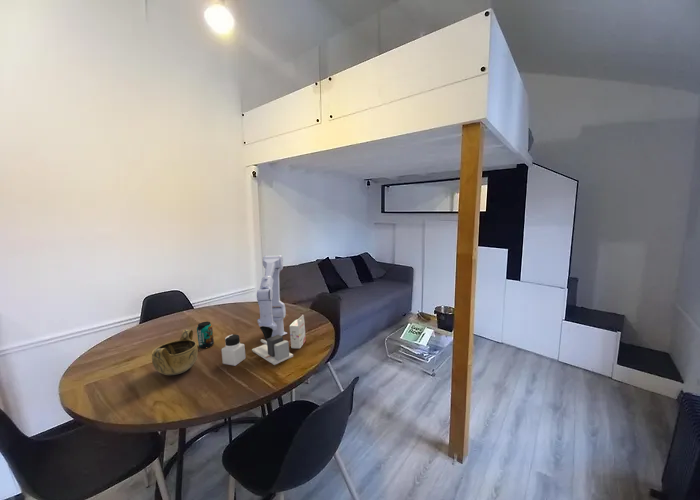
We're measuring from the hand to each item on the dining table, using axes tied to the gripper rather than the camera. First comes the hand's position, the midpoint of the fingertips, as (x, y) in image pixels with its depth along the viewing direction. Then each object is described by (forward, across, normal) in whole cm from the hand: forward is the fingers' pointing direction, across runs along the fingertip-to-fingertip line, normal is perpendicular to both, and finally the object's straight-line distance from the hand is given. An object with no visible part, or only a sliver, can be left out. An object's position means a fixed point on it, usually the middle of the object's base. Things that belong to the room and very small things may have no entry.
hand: (268, 340), depth 138 cm
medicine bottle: (+6, -5, -15) cm, 17 cm away
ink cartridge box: (+6, +5, +14) cm, 16 cm away
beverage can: (+6, -32, -17) cm, 37 cm away
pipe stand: (+6, +3, 0) cm, 6 cm away
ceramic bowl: (+6, -16, -35) cm, 39 cm away
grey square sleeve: (+4, +6, 0) cm, 8 cm away
